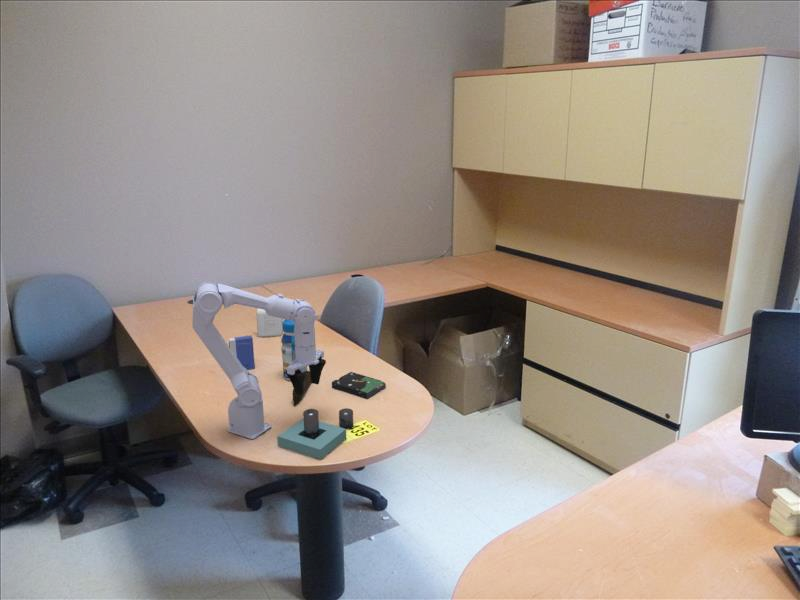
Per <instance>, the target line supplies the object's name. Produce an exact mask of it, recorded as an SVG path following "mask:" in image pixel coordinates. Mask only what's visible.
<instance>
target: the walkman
mask: <svg viewBox="0 0 800 600" xmlns="http://www.w3.org/2000/svg"><path fill="white" fill-rule="evenodd" d="M228 346H229V347H230V348H231V350H232V351H233V353H234V354H235V356H236V357H237V358H238V360H239V361H240V363H241V364H242V366H243V367H245V368H246V369H247V370H248V371H250V370H255V369H256V368H255V367H256V366H255V355H254V338H253V336H252V335H249V334H247V335H246V334H245V335H244V336H243V335H242V336H237V337H236V336H235V337H229V338H228Z"/></svg>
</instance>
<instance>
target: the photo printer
mask: <svg viewBox="0 0 800 600" xmlns="http://www.w3.org/2000/svg"><path fill="white" fill-rule="evenodd" d="M283 321H284V319H281V318H277V317H273V316H269V315H267V313H266V311H265V310H264V309H259V308H257V311H256V327H257V328H256V330H257V331H256V332H257V336H258V337H259V338H262V337H263V338H264V337H282V336H283V334H284V332H283V326H282V323H283Z"/></svg>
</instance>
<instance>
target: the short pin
mask: <svg viewBox="0 0 800 600" xmlns="http://www.w3.org/2000/svg"><path fill="white" fill-rule="evenodd" d="M338 420H339V421H338V424H339V426H338V427H341V428H344V429H346V430H351V429H352V428H353V427H354V410H353V409H352V408H347V407H346V408H341V409H340V410H338Z"/></svg>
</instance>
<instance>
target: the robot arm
mask: <svg viewBox="0 0 800 600" xmlns="http://www.w3.org/2000/svg"><path fill="white" fill-rule="evenodd" d="M233 305H241V306H245V307H248V308H255V309H258V308H259V309H264V310H265V311H266V313H267V315H269V316H273V317H277V318H281V319H283V320H290V321H292V320H294V326H295V328H294V338H295V357H296V358H295V359H294V361H293V362H292V363H291V364H290V365H289V366H288V367H287V370H286V375H287V376H288V377H289V379H290V380H289V381H290V382H291V385H292V388H293V389H294V390H295V393H296V394H299V395H302V394H303V383H304V378H305V375H306V373H302V372H301V371H300V369H301V368H303V367H305V366H307V367H308V368H309V369H308V370H309V371H310V375H311V382H310V383H311V384H313V385H319V384H320V380H321V376H322V372H323V369H324V367H325V365H326V363H327V361H326V359H324V358H325V351H324V350H321V349H316V346H317V344H316V327H315V322H316V321H317V314H316V312H315V309H314V308H313V306H312V305H311V303H309V302H308V301H306V300H305V299H299V298H296V299H291V298H288V297H285V296H284V295H283V294H281V293H278V294H277V295H276V294H271V295H270V296H268V297H266V296H264V295H263V296H262V295H260V294H256V293H253V292H250V291H246V290H243V289H239V288H236V287H233V286H230V285H226V284H223V283H217V284H216V283H215V282H212V281H205V282H202V283H200V284H199V285H198V287H197V288H196V290H195V293H194V296H193V301H192V317H191V319H192V320H191V323H192V324H191V325H192V329H193V331H194V332H195V333H196V335H197V336H198V338H199V339H200V340H201V342H202V343H203V344H204V346H205V347H206V349H207V350H208V351H209V353H210V354H211V355H212V357H213V358H214V360H215V362H217V364H218V365H219V367H220V368H221V369H222V370H223V372H224V373H225V375H226V377H227V378H228V379H229V381H230V383H231V386H232V388H233V390H234V391H235V392H236V394H237V397H234V398H233V399H232V400H231V401H230V402H229V404H228V408H227V415H228V425H229V428H228V429H227V432H229V433H232V434H234V435H238V436H241V437H244V438H248V439H250V440H254V439H256V438H257V437H259V436H261V435H262V434H263V433H265V432H266V431H268V430H269V429H272V425H271V424H267V423H265V413H264V399H263V397H262V396H263V394H262V391H261V388H260V385H259V380H258V377H257V376H256V375H254V374H253V373H251V372H249V370H247V369H246V368H245V367H243V366H242V364H241V363H240V361H239V360H238V358H237V357H236V356H235V354H234V353H233V351H232V350H231V348H230V347H229V343H228V342H226V340H225V338H224V337H223V336H222V334H221V333H220V331H219V330H218V329H217V327H216V325H215V324H214V320H215V317H216V315H217V314H218V313H219V312H220V310H221V308H222V307H223V308H224V309H228V308H229V307H231V306H233ZM303 395H304V394H303Z"/></svg>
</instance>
